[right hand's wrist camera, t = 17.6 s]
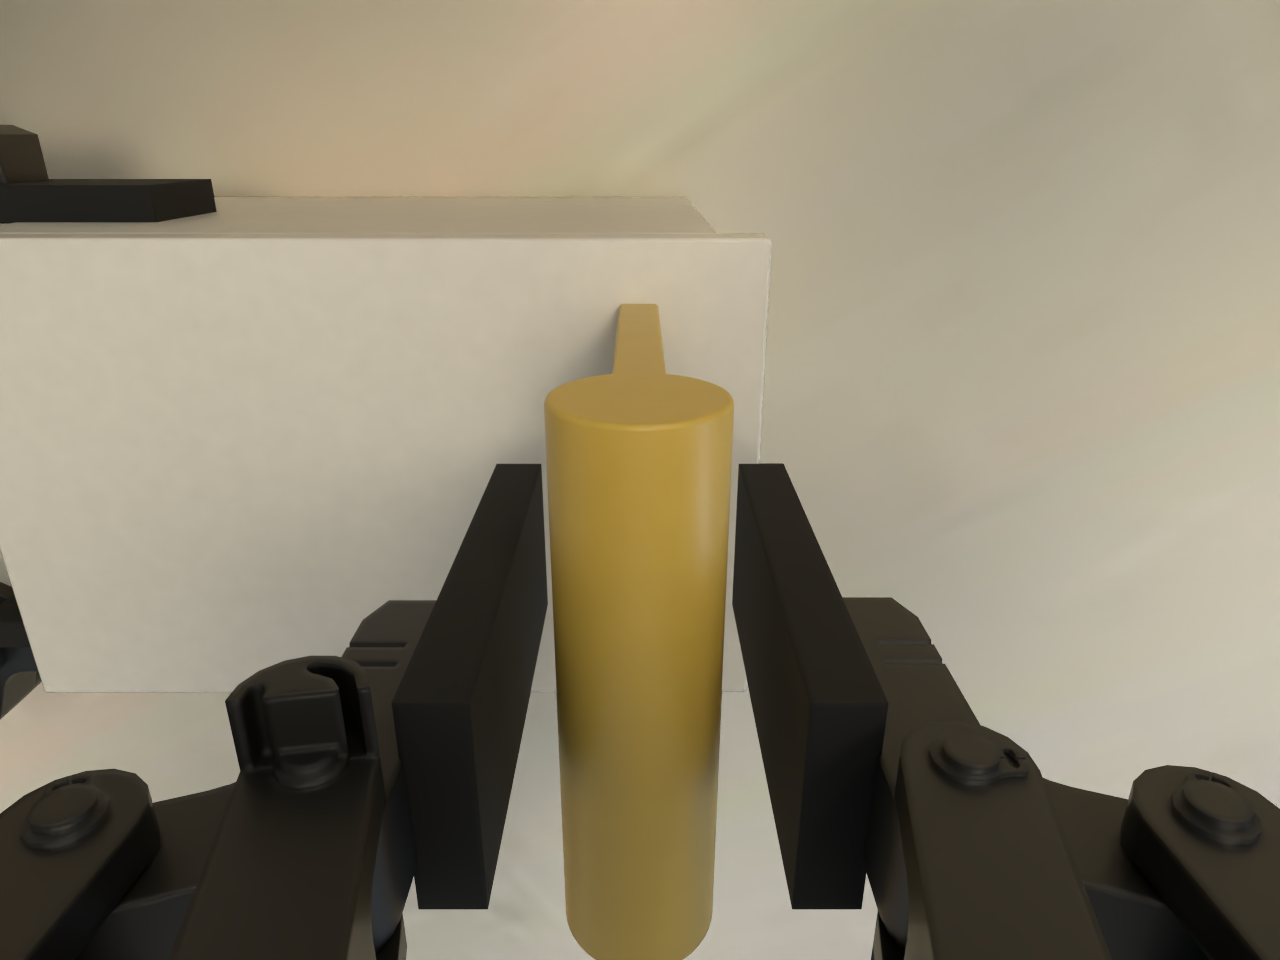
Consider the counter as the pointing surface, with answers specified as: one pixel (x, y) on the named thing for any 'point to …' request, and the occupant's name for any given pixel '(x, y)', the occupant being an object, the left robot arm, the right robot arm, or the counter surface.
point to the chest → (414, 216)
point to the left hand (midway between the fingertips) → (227, 422)
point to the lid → (402, 486)
